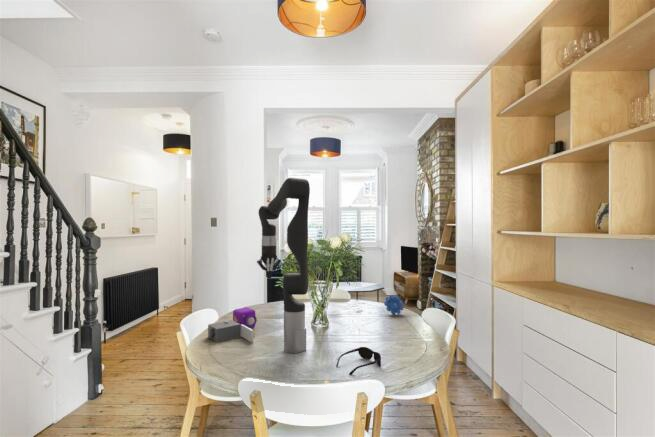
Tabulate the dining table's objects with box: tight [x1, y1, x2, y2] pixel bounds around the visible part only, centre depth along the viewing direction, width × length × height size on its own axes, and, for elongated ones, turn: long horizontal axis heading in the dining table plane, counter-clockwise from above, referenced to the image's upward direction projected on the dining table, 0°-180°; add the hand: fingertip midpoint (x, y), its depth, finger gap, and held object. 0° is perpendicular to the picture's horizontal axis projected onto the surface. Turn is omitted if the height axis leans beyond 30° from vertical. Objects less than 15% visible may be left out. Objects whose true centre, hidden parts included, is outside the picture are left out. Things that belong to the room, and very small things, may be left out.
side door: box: [240, 324, 255, 343], centre depth 166 cm, size 2×12×5 cm, turn 38°
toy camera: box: [232, 306, 257, 331], centre depth 184 cm, size 11×14×10 cm
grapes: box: [383, 294, 404, 315], centre depth 209 cm, size 12×7×12 cm, turn 89°
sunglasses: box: [335, 346, 382, 376], centre depth 134 cm, size 14×16×5 cm
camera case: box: [207, 319, 241, 343], centre depth 169 cm, size 10×13×7 cm
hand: (268, 278), depth 179 cm, fingers closed
